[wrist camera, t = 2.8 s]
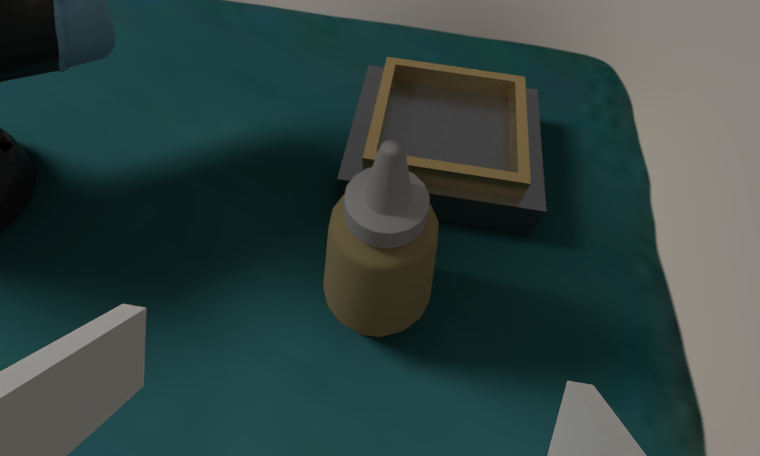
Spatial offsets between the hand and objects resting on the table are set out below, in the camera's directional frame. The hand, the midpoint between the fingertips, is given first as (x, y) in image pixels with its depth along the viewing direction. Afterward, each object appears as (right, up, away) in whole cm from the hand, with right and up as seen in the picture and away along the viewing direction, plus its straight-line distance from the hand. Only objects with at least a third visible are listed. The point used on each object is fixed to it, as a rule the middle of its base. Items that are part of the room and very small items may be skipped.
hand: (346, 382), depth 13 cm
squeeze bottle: (+1, -1, +22) cm, 22 cm away
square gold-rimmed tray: (+7, +12, +31) cm, 34 cm away
